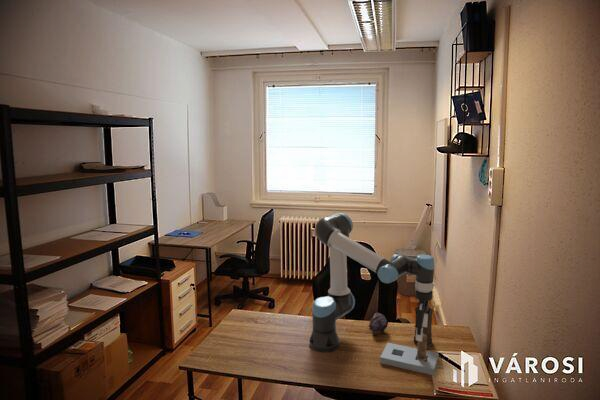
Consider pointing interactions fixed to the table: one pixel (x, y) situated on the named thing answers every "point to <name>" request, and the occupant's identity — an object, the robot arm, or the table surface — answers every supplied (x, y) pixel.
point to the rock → (378, 323)
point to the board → (408, 358)
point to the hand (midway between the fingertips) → (421, 333)
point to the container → (426, 328)
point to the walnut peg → (422, 348)
